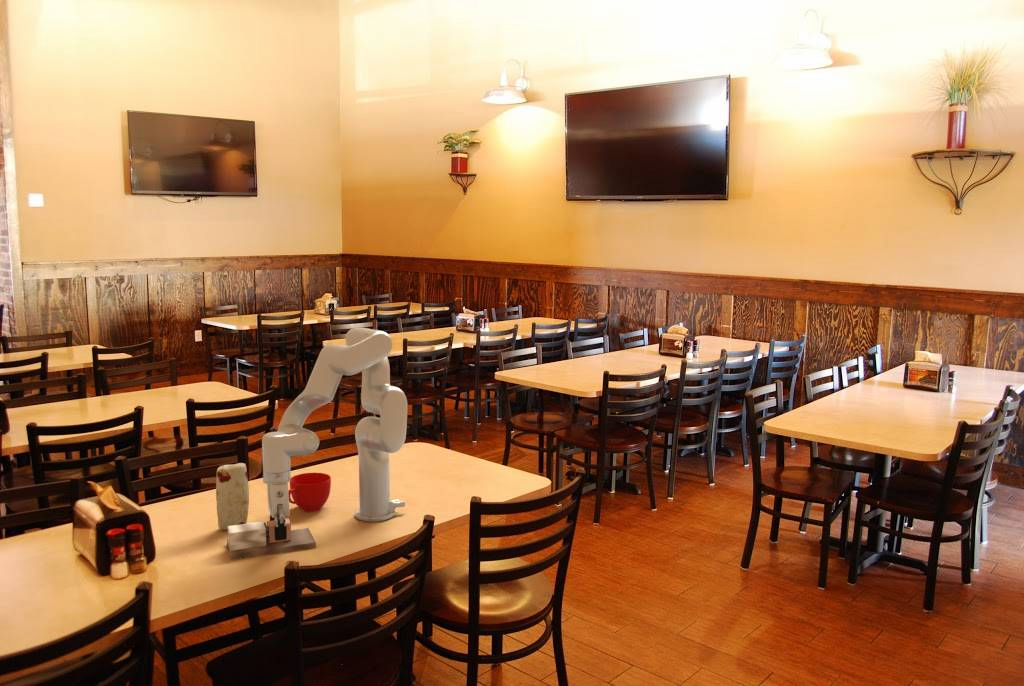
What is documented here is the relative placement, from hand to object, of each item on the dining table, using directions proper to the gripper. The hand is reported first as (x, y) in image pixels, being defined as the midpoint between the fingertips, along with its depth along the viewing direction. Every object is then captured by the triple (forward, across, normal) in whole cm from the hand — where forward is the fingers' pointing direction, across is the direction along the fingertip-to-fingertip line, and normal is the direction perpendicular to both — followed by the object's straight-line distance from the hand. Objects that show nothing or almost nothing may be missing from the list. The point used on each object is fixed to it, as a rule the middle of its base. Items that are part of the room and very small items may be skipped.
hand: (278, 533), depth 232 cm
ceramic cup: (+3, +26, -12) cm, 29 cm away
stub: (+2, 0, 0) cm, 2 cm away
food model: (+4, +19, +10) cm, 22 cm away
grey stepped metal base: (+3, 0, +3) cm, 5 cm away
